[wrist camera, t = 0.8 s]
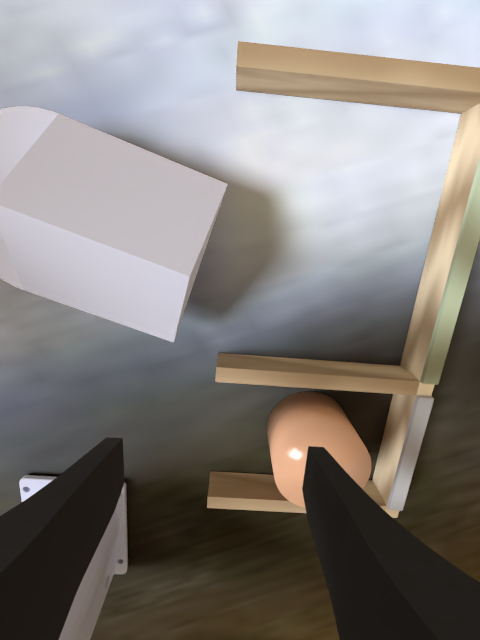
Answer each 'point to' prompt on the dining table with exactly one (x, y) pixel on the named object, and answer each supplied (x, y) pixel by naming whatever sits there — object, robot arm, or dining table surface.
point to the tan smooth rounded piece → (312, 441)
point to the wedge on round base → (100, 221)
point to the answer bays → (437, 278)
